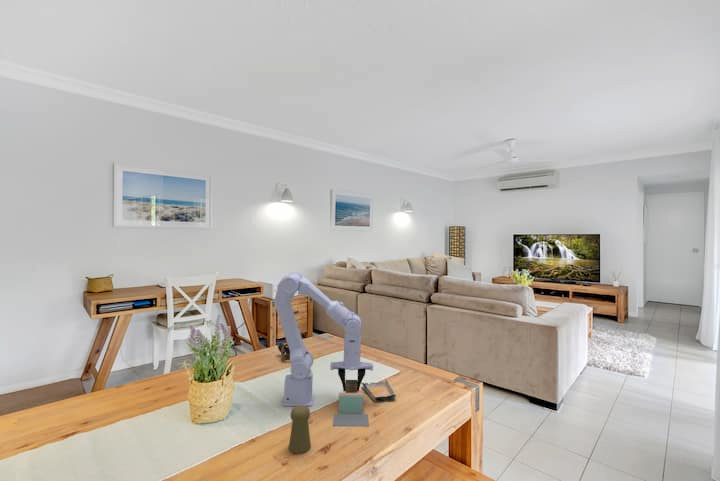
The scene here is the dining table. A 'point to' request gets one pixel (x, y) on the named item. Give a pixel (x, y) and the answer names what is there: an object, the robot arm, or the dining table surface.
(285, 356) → the pottery mug
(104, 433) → the dining table surface
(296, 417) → the olive green pepper mill
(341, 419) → the felt mat
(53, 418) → the dining table surface
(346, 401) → the glazed tile
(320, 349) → the dining table surface
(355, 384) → the walnut block
